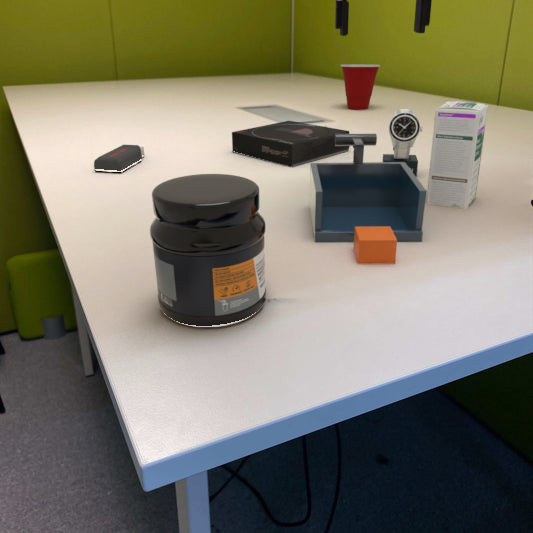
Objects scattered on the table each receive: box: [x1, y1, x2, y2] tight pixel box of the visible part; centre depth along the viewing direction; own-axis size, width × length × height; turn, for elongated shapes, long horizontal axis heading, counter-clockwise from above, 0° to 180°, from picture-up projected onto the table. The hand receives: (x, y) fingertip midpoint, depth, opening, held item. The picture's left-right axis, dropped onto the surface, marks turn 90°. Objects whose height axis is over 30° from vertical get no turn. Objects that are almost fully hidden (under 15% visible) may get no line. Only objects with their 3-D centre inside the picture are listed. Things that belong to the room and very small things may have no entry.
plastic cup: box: [340, 64, 381, 111], centre depth 153 cm, size 11×11×12 cm
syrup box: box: [425, 100, 489, 210], centre depth 75 cm, size 6×6×14 cm
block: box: [352, 226, 398, 265], centre depth 61 cm, size 4×4×4 cm
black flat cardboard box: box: [231, 120, 351, 167], centre depth 110 cm, size 16×17×4 cm
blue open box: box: [308, 133, 428, 243], centre depth 70 cm, size 17×13×10 cm
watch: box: [381, 108, 423, 177], centre depth 91 cm, size 6×8×11 cm
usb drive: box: [93, 144, 145, 171], centre depth 102 cm, size 5×12×3 cm, turn 167°
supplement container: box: [149, 173, 267, 326], centre depth 51 cm, size 10×10×12 cm
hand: (381, 34), depth 70 cm, fingers open, 9 cm apart
